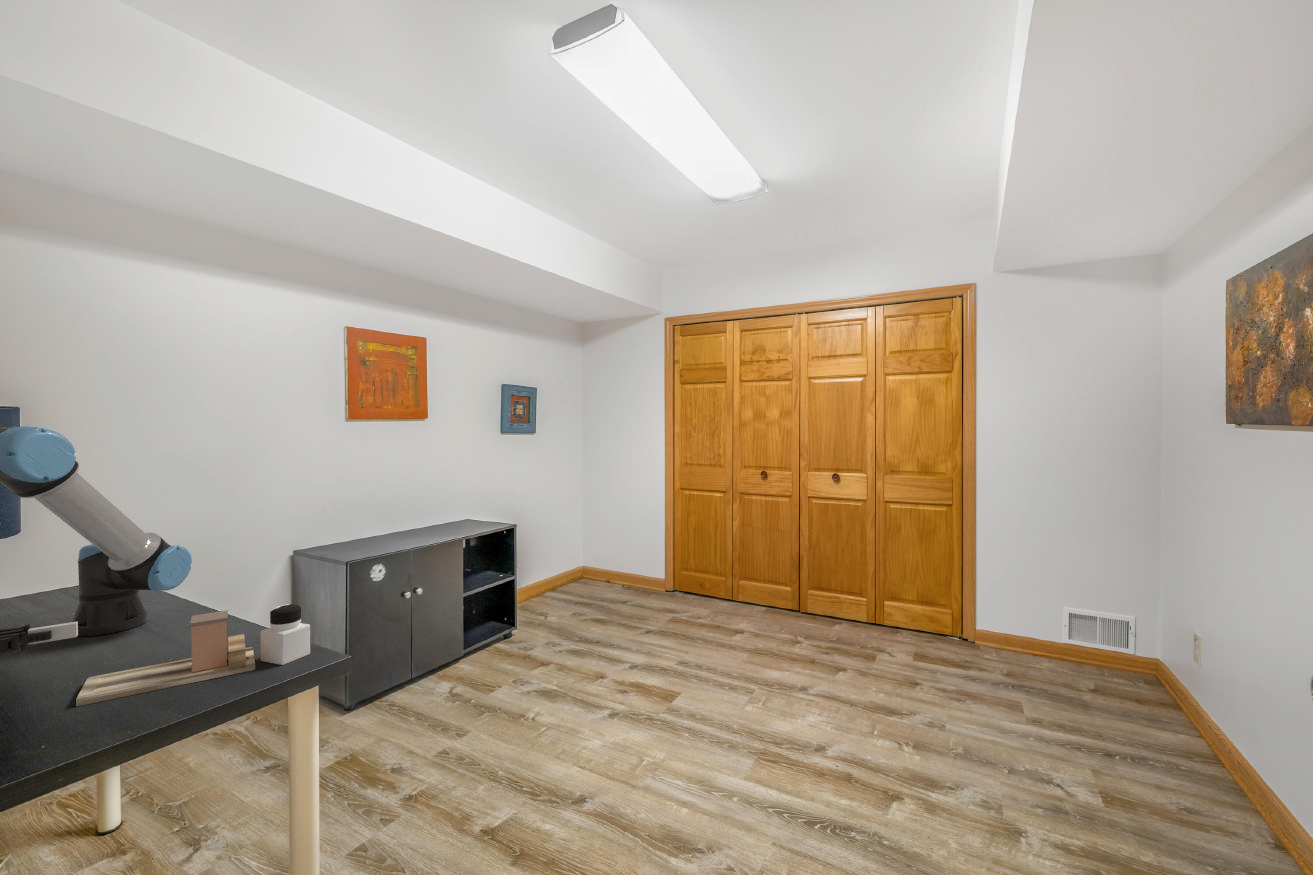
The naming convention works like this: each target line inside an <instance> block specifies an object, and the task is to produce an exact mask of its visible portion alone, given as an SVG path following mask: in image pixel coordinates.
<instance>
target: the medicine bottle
mask: <svg viewBox="0 0 1313 875" xmlns="http://www.w3.org/2000/svg"><path fill="white" fill-rule="evenodd" d="M269 622H270V624H269V626H270V627H269V628H265V629H261V631H260V661H261V662H264V663H270V664H275V665H280V666H284V665H287V664H290V663H291V662H294V661H296V660H298V659H301V658H303V657H306V656H309V655H310V654H311V624H309V623H308V624H307V623H302V607H301V605H298V604H295V603H290V604H289V603H287V604H283V605H278V606H276V607H274V608H272V609H271V610H270V612H269Z"/></svg>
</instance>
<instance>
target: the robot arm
mask: <svg viewBox="0 0 1313 875" xmlns="http://www.w3.org/2000/svg"><path fill="white" fill-rule="evenodd" d="M75 453H76V450H75V447H74V445H73V444H72V442H71V441H70V440H69V439H68V438H67V437H66V436H64V435H63V434H61V433H60V432H57V431H55V430H52V429H49V428H43V427H37V426H28V425H26V426H16V427H15V426H13V427H12V426H11V427H9V426H5V427H4V426H3V427H0V484H2V485H3V486H4V487H5V488H7V489H8V490H9V491H11V493H13V494H15V495H16V496H17V497H19V498H21V499H35V500H36V501H37V502H39V503H40V504H41V505H42V506H43V507H45V508H47V510H49V511H50V512H51V513H53V514H54V515H55V516H56V517H58V518H59V519H60V520H61V521H62V522H64V523H65V524H66V525H67V526H69V527H70V528H71V529H72V530H74V531H75V532H76V533H78V534H79V535H80V536H81V537H83V538H84V539H85V540H87V542H89V543H90V544H87V545H85V546H82V547H80V550H79V552H78V560H77V564H78V604H77V607H76V609H75V611H74V614H73V616H72V618H71V621H70V622H64V623H58V624H52V625H46V626H39V627H31V624H30V623H29V624H26V625H24V626H16V627H7V628H0V654H5V653H9V652H14V651H18V650H20V651H21V652H22V651H26V650H27V649H28V647H27V646H28V645H35V644H36V645H37V644H41V643H43V644H44V643H48V642H54V641H55V642H56V641H61V640H67V639H72V638H77V637H90V636H91V637H94V636H99V635H102V636H103V635H107V634H113V633H119V632H123V631H127V630H131V629H135V628H137V627H139V626H142V625H145V623H147V622H148V621H149V620H148V619H149V618H148V617H149V616H148V611H147V608H146V606H145V604H144V602H143V600H142V597H141V595H140V591H152V592H162V591H163V592H164V591H165V592H167V591H170V590H174V589H175V588H177V587H179V586H180V585H181V584H182V583H183V582H184V581H185V580H186V578H187V577H188V576H189V574H190V572H191V568H192V563H193V560H192V554H191V553H190V551H189V549H187V548H186V547H183V546H180V545H178V544H177V545H176V544H175V545H171V544H169V543H168V542H167V541H166V540H165V539H163V537H161V536H160V535H159V534H157V533H155V532H145V531H144V530H142V529H141V528H140V527H139V526H138V525H137V524H136V523H135V522H133V521H132V520H131V519H130V518H129V517H128V516H127V515H126V514H124V512H122V511H121V510H120V509H119V508H118V507H117V506H116V505H114V504H113V503H112V502H111V501H109V499H107V498H106V497H105V496H104V495H103V494H102V493H101V492H100V491H98V489H96V488H95V487H94V486H93V485H92V484H90V482H88V481H87V480H86V479H85V478H84V477H83V476H81V475H80V474H79V473H78V472H79V470H80V465H79V462H78V461H77V457H76V456H75Z"/></svg>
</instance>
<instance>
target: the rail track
mask: <svg viewBox="0 0 1313 875" xmlns="http://www.w3.org/2000/svg"><path fill="white" fill-rule="evenodd" d="M245 638H246V637H245V633H241V634H233V635H227V666H222V667H217V668H212V669H207V670H202V671H197V672H192V657H190V658H183V659H180V660H174V661H168V662H163V663H157V664H151V665H147V666H141V667H135V668H130V669H125V670H121V671H119V670H118V671H115V672H109V673H104V674H103V673H102V674H98V675H93V676H88V677H87V679H86V680H85V683H84V684H83V686H82V687H81V689H80V691H79V693H78V695H77V697H76V698H75V700H76V701H75V703H76V704H75V707H81V706H86V705H91V704H96V703H100V702H106V701H110V700H115V699H120V698H126V697H129V696H135V695H139V694H144V693H149V692H154V691H159V690H165V689H168V688H173V687H174V688H175V687H178V686H184V685H188V684H192V683H193V684H194V683H198V682H203V681H207V680H211V679H217V678H222V677H226V676H231V675H236V674H241V673H246V672H247V673H248V672H251V671H255V670H256V662H255V654H254V646H249V647H246V639H245Z"/></svg>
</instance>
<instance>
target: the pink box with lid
mask: <svg viewBox="0 0 1313 875" xmlns="http://www.w3.org/2000/svg"><path fill="white" fill-rule="evenodd" d="M190 618H191V619H190V623H189V624H190V626H189V627H190V628H191V658H192V672H197V671H202V670H207V669H212V668H217V667H222V666H227V651H228V635H227V634H228V633H227V632H228V631H227V630H228V628H227V627H228V626H227V624H228V621H229V610H220V611H214V612H207V613H201V614H196V615H195V614H194V615H191V617H190Z"/></svg>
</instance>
